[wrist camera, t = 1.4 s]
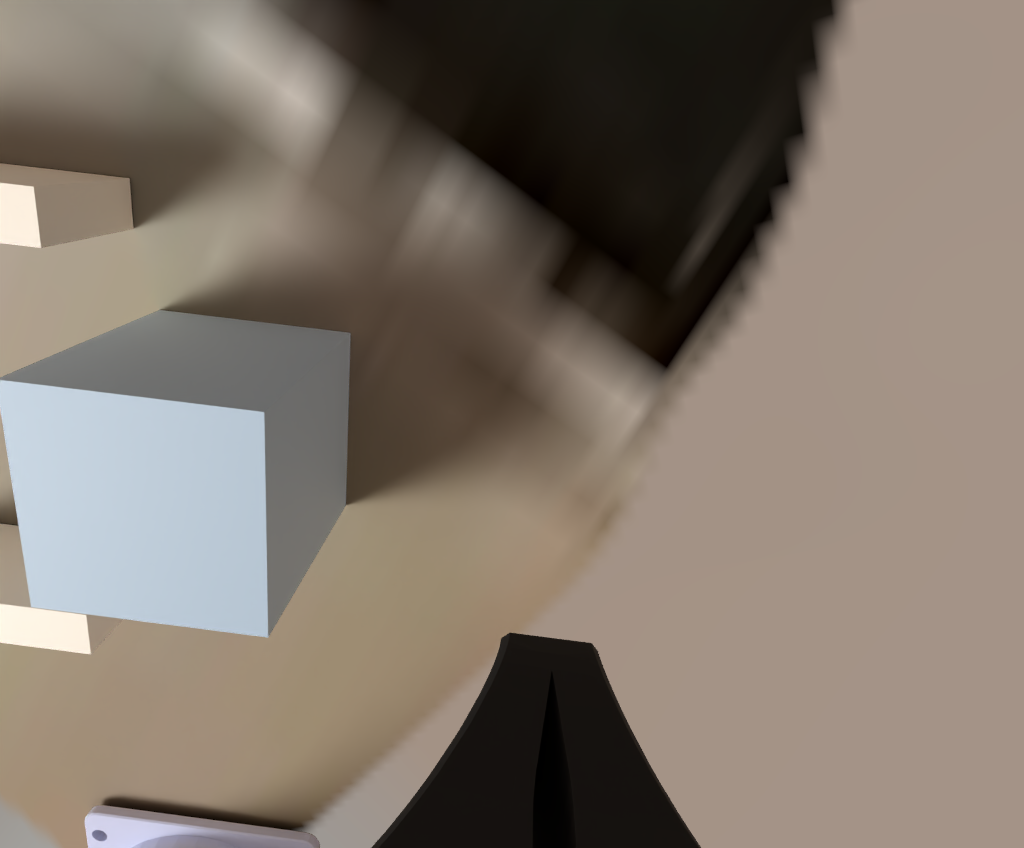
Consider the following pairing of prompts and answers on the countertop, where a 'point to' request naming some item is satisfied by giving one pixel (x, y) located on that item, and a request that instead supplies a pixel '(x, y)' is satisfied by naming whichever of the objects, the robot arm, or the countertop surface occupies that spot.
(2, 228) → the channel
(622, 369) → the countertop surface
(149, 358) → the block
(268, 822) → the countertop surface
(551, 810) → the robot arm
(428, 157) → the countertop surface
